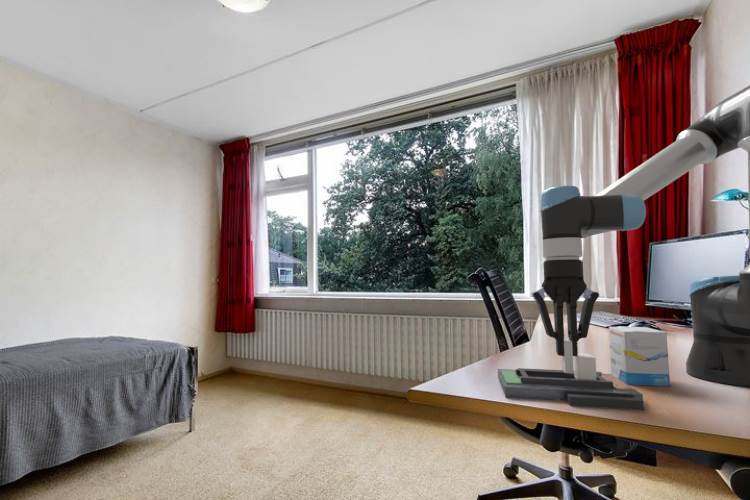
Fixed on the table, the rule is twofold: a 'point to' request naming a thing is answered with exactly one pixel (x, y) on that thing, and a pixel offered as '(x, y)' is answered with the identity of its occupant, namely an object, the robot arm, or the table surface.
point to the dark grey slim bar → (549, 370)
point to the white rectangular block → (585, 366)
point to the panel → (560, 385)
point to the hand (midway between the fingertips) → (567, 371)
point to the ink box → (639, 355)
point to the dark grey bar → (605, 401)
